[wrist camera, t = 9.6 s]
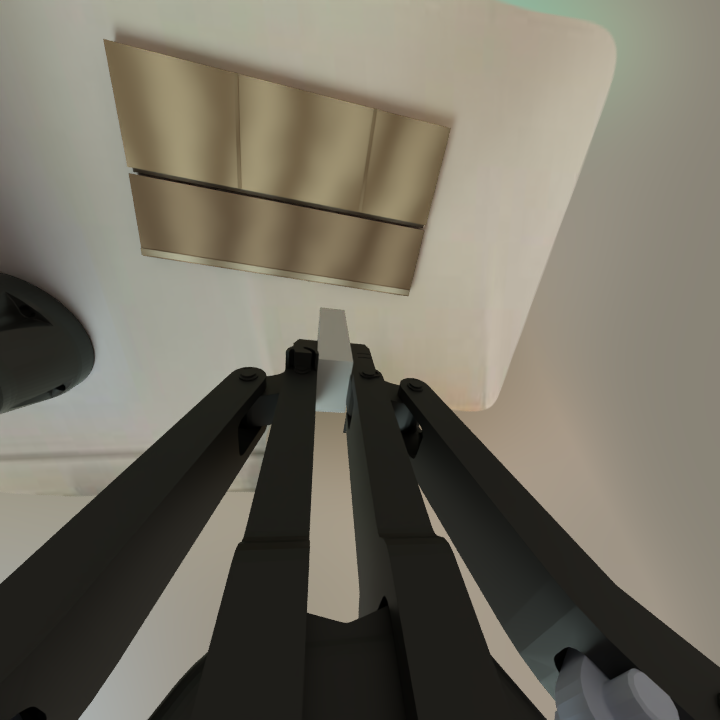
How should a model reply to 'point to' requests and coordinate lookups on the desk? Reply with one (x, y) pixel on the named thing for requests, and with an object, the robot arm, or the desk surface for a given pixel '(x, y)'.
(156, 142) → the laid plank
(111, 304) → the desk surface
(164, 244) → the click plank
